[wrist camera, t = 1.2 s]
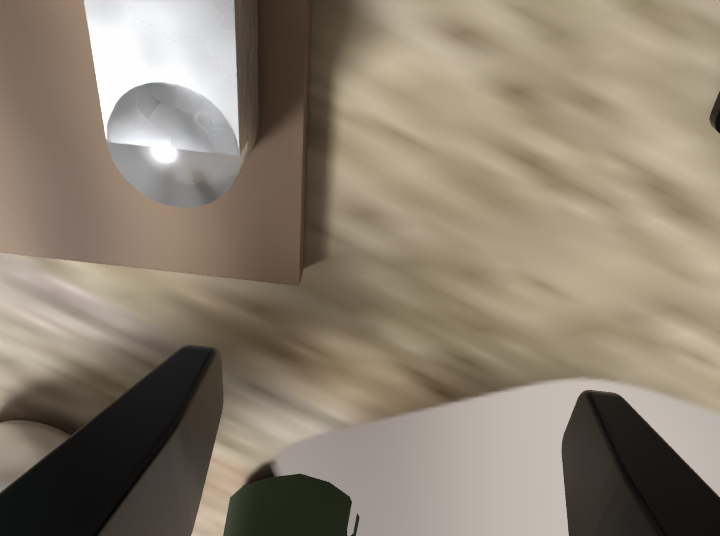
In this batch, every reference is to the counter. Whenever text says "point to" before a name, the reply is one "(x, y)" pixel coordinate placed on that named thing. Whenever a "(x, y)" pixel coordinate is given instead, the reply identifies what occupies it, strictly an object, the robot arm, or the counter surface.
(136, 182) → the link
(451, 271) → the counter surface
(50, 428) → the plastic bottle
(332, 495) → the character mug
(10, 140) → the board
